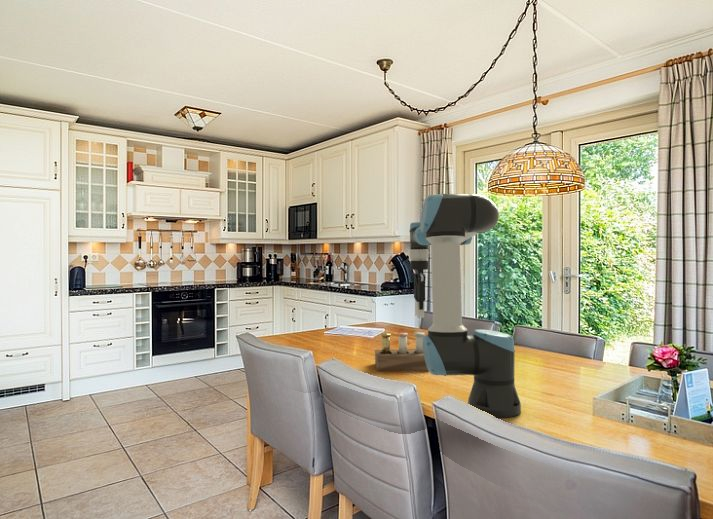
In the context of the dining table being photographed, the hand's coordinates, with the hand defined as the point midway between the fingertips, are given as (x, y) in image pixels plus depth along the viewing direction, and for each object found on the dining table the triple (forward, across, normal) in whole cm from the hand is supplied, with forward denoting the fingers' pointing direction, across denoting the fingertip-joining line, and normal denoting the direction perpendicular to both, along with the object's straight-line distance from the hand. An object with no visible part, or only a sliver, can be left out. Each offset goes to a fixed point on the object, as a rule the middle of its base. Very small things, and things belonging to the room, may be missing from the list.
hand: (419, 316), depth 187 cm
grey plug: (+16, 0, 0) cm, 16 cm away
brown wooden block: (+21, 0, +7) cm, 22 cm away
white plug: (+16, 0, +7) cm, 17 cm away
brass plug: (+16, 0, +14) cm, 21 cm away
